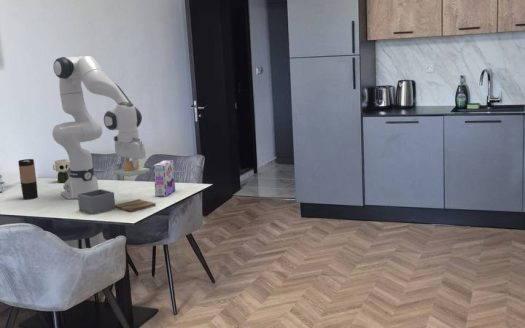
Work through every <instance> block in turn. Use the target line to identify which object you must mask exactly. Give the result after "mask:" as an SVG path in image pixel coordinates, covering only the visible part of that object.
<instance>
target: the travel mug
mask: <svg viewBox="0 0 525 328" xmlns="http://www.w3.org/2000/svg"><path fill="white" fill-rule="evenodd" d="M17 163H18V171H19V172H18V173H19V178H20V179H19V180H20V186H21V194H22V199H23V200H33V199H38V197H39V196H38V194H39V193H38V183H37V182H38V181H37V176H36V175H37V174H36V167H35V166H36V165H35V159H33V158H28V159H27V158H26V159H20V160H18V162H17Z"/></svg>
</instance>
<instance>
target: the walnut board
mask: <svg viewBox="0 0 525 328" xmlns="http://www.w3.org/2000/svg"><path fill="white" fill-rule="evenodd" d="M156 206H157V205H156V203H155V202H151V201H147V200H145V199H144V200H143V199H139V198H138V199H135V200H130V201H126V202H122V203H117V204H115V209H117V210H121V211H125V212H128V213H132V212H136V211H140V210H144V209H145V210H146V209H148V208H152V207H156Z"/></svg>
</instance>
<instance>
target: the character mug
mask: <svg viewBox="0 0 525 328" xmlns="http://www.w3.org/2000/svg"><path fill="white" fill-rule="evenodd" d="M52 169H53V171H55V172H57V182H58V183H65V182H66V181H67V180H68V179H69V173H68V172H67V171H69V169H70V161H69V159H65V158H64V159H61V158H60V159H56V160H54V164H52Z"/></svg>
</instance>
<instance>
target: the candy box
mask: <svg viewBox="0 0 525 328" xmlns="http://www.w3.org/2000/svg"><path fill="white" fill-rule="evenodd" d="M174 168H175V167H174V160H162V161H160V162H158V163H156V164H153V177H154V180H153V181H154V190H155V192H154V193H155V197H158V198H159V197H163V198H164V197H168V196H170V195H171V194H172V193H174V192H175V191H176V181H175V171H174Z"/></svg>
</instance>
